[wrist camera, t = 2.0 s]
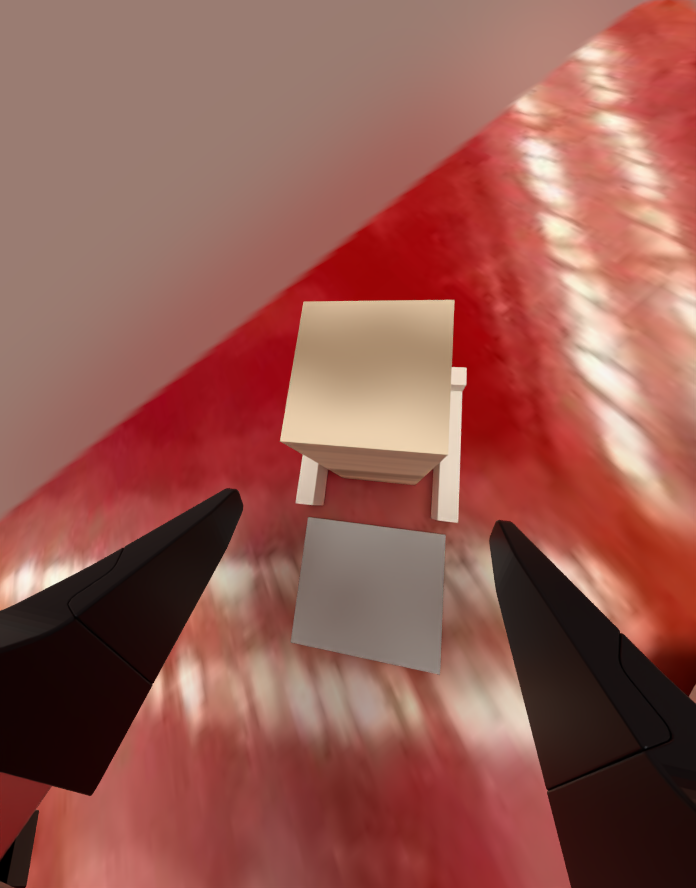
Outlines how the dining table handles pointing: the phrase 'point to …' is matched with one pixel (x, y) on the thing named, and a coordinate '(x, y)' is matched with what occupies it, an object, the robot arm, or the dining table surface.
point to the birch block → (372, 388)
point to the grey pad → (372, 593)
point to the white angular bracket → (443, 473)
